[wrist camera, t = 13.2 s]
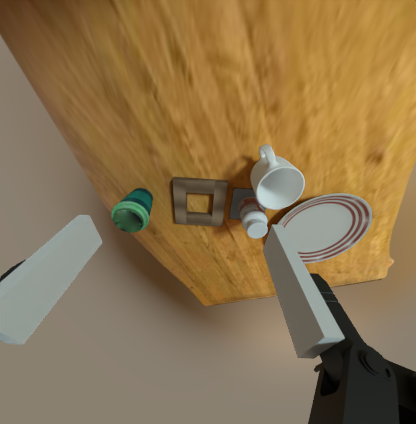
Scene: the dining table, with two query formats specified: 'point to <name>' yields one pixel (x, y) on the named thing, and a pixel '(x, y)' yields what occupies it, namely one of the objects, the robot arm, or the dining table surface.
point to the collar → (199, 186)
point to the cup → (133, 211)
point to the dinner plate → (327, 225)
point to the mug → (275, 180)
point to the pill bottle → (253, 217)
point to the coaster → (237, 197)
